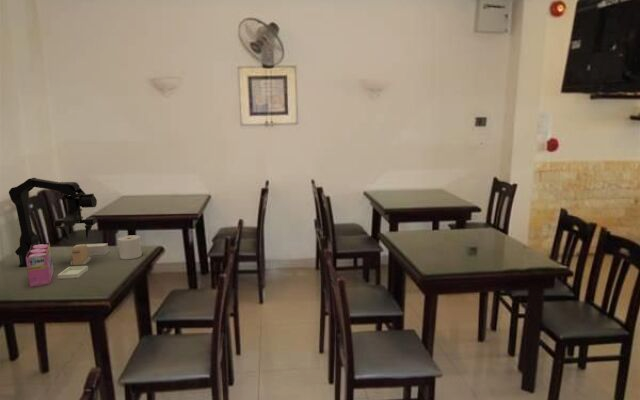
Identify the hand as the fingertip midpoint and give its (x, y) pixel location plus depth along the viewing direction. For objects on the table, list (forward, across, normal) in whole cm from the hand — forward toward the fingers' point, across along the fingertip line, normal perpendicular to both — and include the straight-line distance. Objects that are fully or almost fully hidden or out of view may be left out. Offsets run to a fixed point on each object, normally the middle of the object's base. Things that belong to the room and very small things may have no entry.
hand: (77, 238), depth 230 cm
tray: (+12, +4, -18) cm, 22 cm away
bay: (+12, 0, +6) cm, 14 cm away
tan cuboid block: (+12, 0, 0) cm, 13 cm away
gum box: (+13, -9, -20) cm, 25 cm away
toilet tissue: (+13, +22, +6) cm, 26 cm away
